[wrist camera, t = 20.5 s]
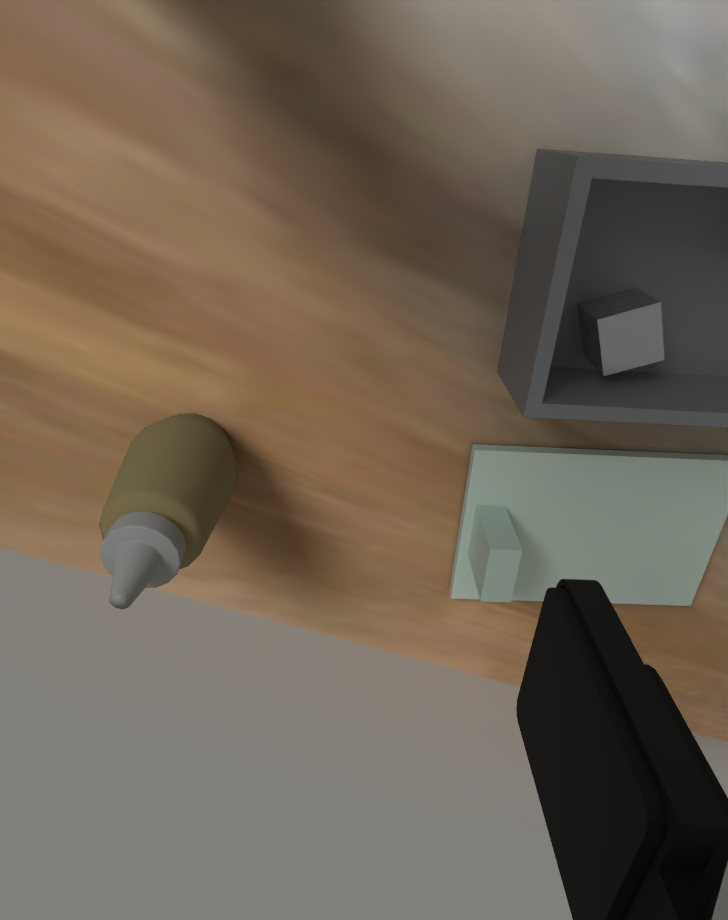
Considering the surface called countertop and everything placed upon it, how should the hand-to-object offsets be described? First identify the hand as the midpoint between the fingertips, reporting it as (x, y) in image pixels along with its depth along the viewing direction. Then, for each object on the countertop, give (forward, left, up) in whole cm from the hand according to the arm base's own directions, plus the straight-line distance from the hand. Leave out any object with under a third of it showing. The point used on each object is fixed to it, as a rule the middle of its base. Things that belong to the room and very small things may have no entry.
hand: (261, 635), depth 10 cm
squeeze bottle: (+16, -10, -36) cm, 41 cm away
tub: (+1, +24, -36) cm, 44 cm away
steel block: (+4, +20, -35) cm, 41 cm away
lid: (+22, +23, -37) cm, 49 cm away
